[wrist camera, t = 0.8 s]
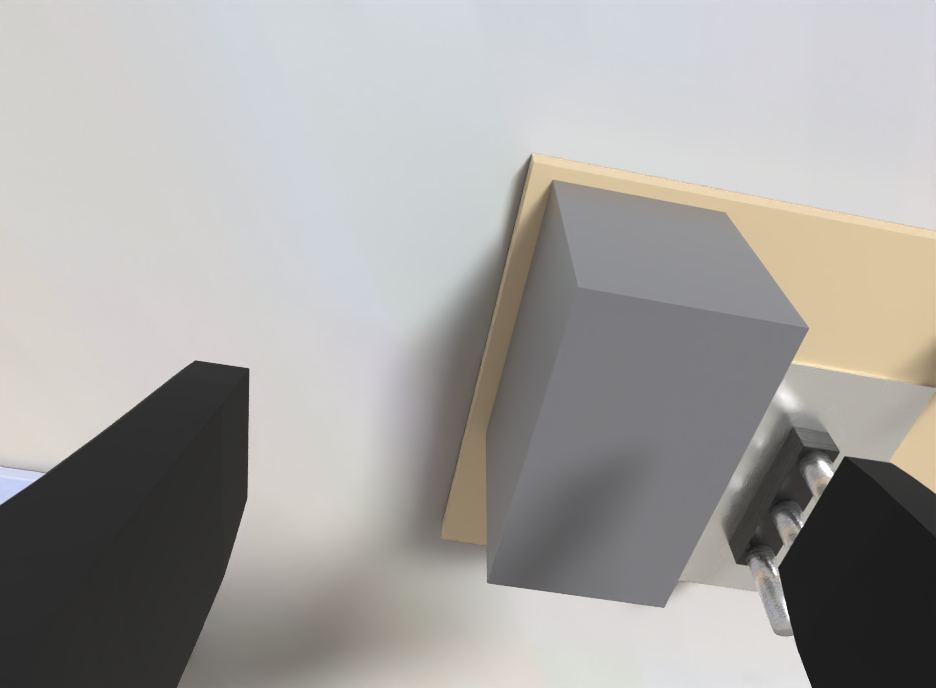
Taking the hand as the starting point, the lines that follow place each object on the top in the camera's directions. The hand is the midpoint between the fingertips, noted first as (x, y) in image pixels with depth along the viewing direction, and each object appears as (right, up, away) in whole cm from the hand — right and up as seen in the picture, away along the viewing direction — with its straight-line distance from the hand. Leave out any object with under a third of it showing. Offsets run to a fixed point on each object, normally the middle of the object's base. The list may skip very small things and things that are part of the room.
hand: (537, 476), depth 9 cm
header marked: (+8, -2, +13) cm, 15 cm away
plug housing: (+2, +2, +9) cm, 10 cm away
